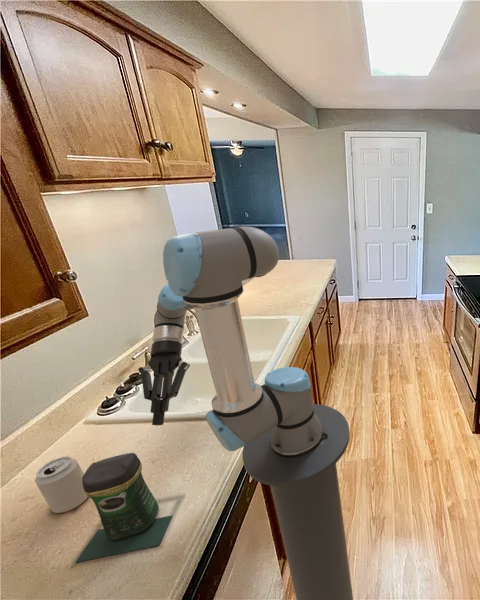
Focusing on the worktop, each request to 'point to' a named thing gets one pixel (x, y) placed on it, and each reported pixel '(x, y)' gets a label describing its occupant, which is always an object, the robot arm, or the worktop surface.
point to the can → (61, 484)
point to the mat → (125, 541)
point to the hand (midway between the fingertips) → (157, 424)
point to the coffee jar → (120, 495)
